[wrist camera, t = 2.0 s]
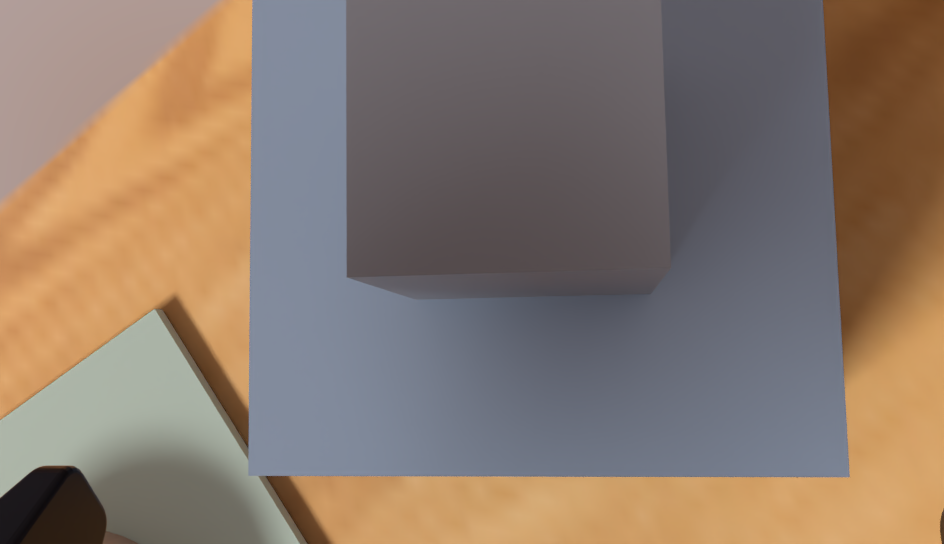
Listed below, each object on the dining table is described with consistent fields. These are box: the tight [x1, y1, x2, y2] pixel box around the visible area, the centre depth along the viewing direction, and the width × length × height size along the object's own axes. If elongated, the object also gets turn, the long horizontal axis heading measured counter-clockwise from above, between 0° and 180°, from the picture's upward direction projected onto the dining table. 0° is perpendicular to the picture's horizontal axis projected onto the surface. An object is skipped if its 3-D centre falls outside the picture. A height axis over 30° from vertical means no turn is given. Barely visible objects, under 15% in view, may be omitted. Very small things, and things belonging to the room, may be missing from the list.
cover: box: [248, 0, 850, 477], centre depth 16 cm, size 10×10×10 cm
